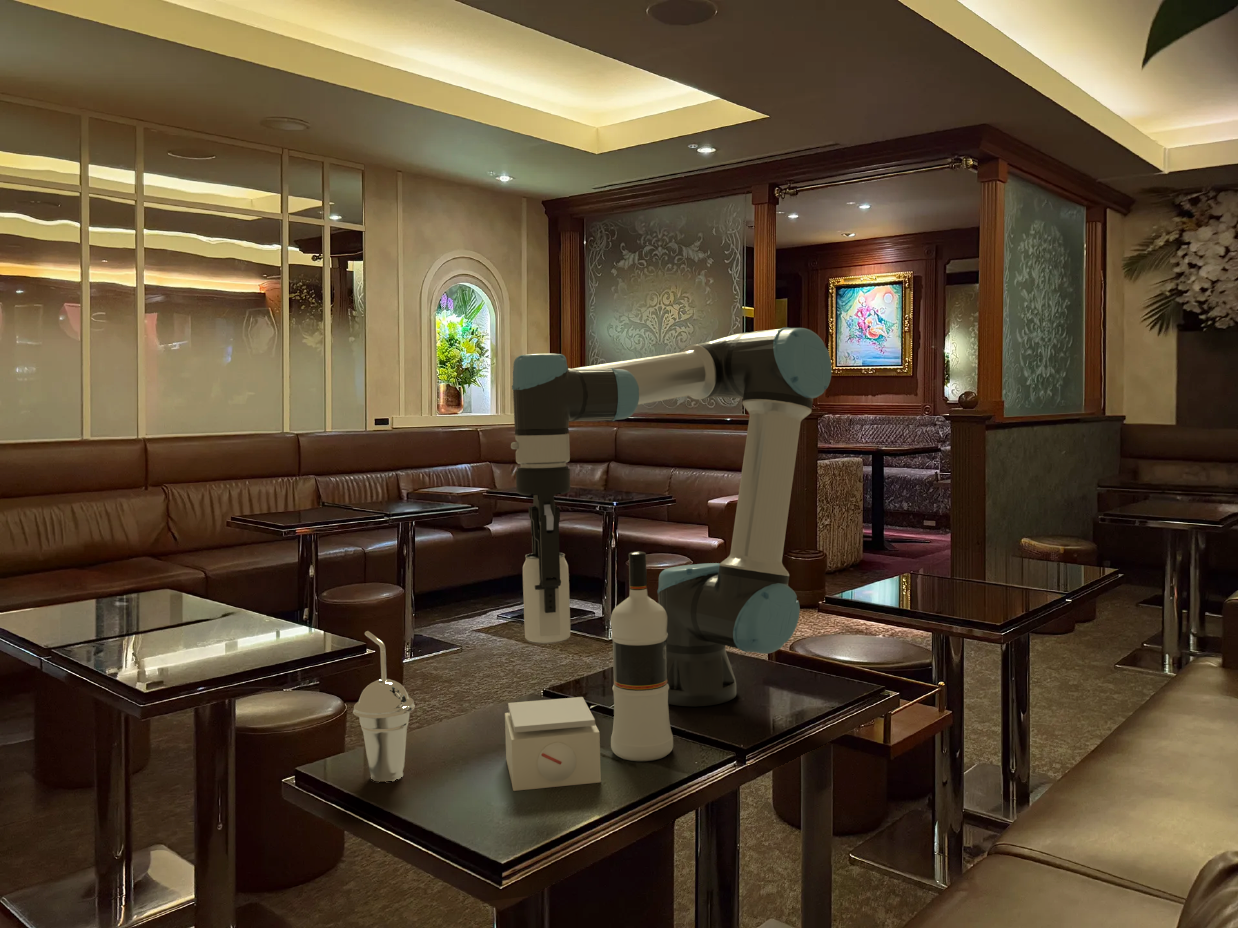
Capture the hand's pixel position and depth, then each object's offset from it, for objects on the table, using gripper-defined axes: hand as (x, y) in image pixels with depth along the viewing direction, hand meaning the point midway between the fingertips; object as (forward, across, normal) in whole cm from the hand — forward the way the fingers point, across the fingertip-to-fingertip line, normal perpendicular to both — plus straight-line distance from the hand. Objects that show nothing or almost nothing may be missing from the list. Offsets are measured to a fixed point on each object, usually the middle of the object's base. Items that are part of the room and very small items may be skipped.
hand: (547, 630), depth 138 cm
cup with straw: (+20, -4, -23) cm, 31 cm away
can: (+2, -1, 0) cm, 2 cm away
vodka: (+20, -4, +14) cm, 25 cm away
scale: (+20, 0, 0) cm, 20 cm away
